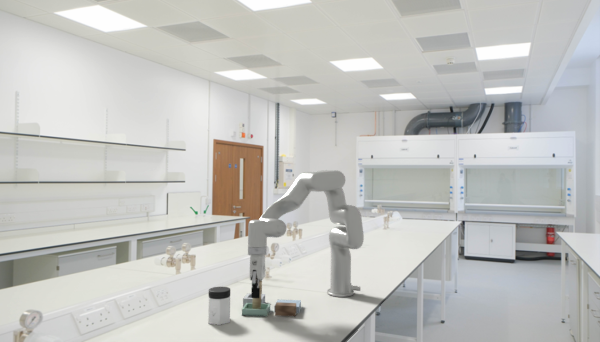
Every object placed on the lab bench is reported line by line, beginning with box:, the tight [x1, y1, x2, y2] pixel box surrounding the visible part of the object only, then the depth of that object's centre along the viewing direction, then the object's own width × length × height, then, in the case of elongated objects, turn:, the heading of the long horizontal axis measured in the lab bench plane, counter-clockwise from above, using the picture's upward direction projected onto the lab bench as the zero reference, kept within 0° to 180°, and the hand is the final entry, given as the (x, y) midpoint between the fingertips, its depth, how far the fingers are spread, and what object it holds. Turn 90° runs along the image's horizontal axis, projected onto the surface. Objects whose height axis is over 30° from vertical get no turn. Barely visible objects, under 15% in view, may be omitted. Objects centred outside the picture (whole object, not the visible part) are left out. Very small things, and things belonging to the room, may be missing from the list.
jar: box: [207, 286, 231, 326], centre depth 155 cm, size 9×8×12 cm
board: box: [273, 299, 302, 314], centre depth 171 cm, size 10×9×3 cm
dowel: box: [252, 280, 263, 309], centre depth 166 cm, size 4×4×12 cm
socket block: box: [242, 293, 266, 308], centre depth 176 cm, size 8×8×4 cm
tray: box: [241, 303, 271, 317], centre depth 166 cm, size 10×8×2 cm
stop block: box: [274, 301, 297, 317], centre depth 164 cm, size 8×4×4 cm, turn 85°
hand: (256, 295), depth 166 cm, fingers open, 4 cm apart
